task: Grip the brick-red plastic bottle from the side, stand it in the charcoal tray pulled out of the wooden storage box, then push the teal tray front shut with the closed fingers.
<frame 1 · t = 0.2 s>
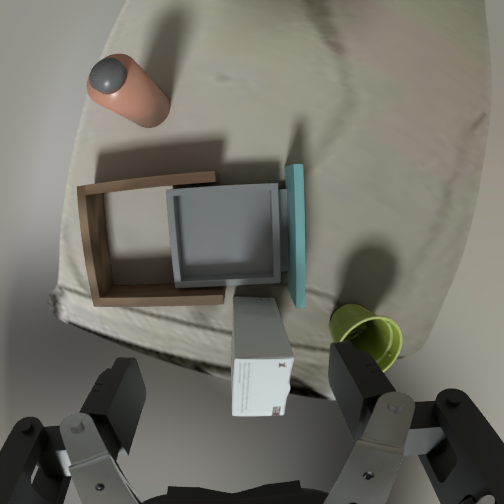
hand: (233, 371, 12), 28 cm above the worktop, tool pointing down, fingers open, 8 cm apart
bottle: (150, 109, 35), on the worktop
skincare box: (253, 323, 42), on the worktop
plant pot: (348, 321, 43), on the worktop
tray: (233, 237, 35), point 4 cm above the worktop, slide at 8.0 cm
wooden storage box: (164, 236, 39), on the worktop
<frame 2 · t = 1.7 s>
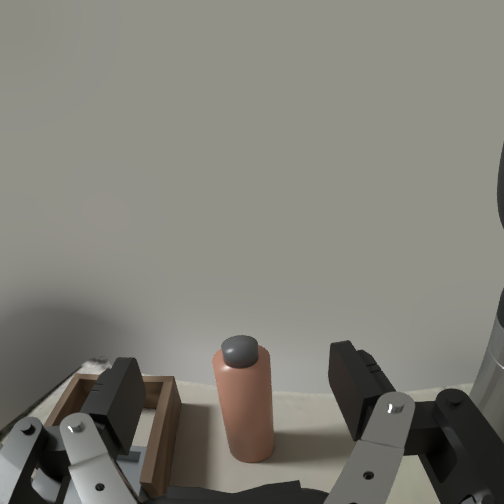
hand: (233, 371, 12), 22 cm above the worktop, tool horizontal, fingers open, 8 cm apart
bottle: (251, 446, 30), on the worktop
tray: (82, 490, 19), point 4 cm above the worktop, slide at 8.0 cm
wooden storage box: (114, 450, 28), on the worktop
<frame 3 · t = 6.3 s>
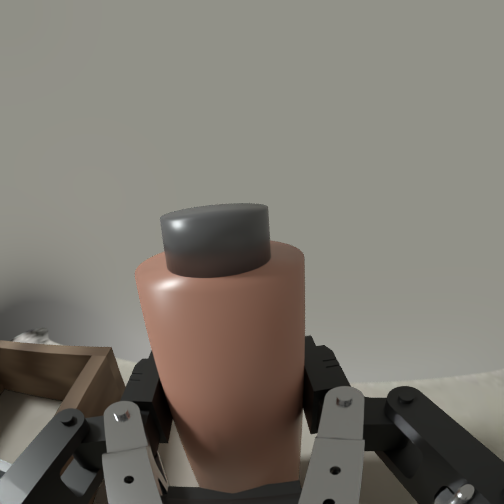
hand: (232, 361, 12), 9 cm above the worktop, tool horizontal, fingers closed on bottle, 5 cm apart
bottle: (250, 489, 13), on the worktop, touching gripper
wooden storage box: (10, 465, 11), on the worktop
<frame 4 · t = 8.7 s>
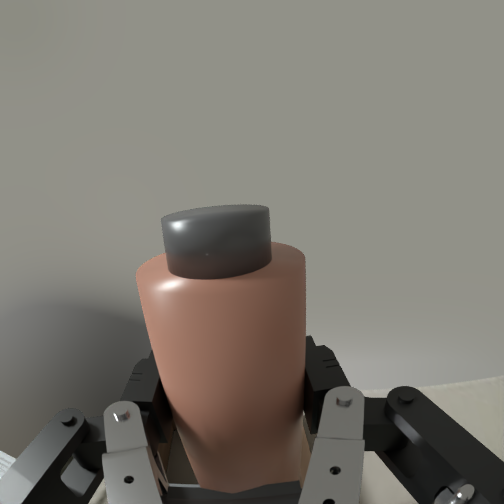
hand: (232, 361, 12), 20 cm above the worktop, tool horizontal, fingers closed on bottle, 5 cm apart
bottle: (251, 489, 13), point 12 cm above the worktop, touching gripper
wooden storage box: (228, 487, 23), on the worktop
when the fingers open (12 cm above the worktop, at t = 11.4 s): bottle drops 2 cm, resting on tray.
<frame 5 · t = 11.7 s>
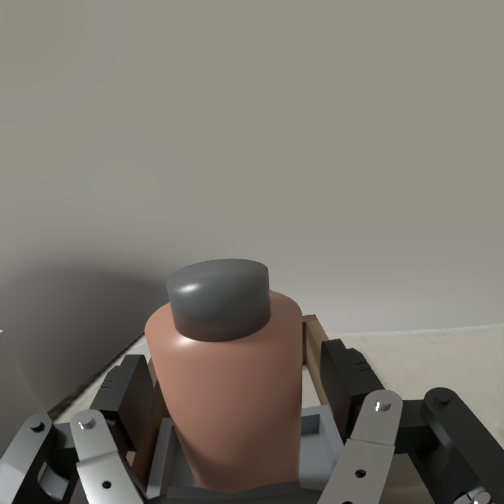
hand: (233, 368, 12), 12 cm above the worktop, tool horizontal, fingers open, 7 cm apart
tray: (251, 503, 12), point 4 cm above the worktop, slide at 8.0 cm, touching bottle
wooden storage box: (247, 429, 22), on the worktop
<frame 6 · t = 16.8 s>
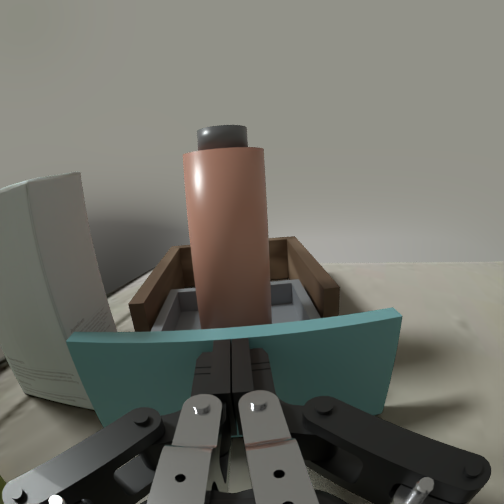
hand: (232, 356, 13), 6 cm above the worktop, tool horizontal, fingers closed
bottle: (237, 340, 22), point 1 cm above the worktop, touching tray
skincare box: (72, 384, 19), on the worktop
tray: (234, 321, 21), point 4 cm above the worktop, slide at 7.2 cm, touching bottle, gripper
wooden storage box: (237, 313, 30), on the worktop
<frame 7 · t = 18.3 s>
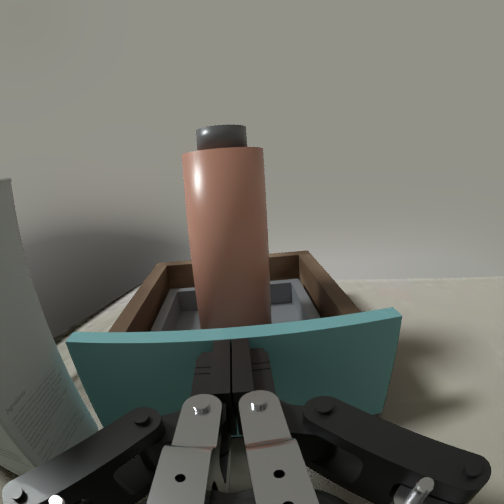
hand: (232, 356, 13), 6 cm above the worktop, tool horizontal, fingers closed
bottle: (237, 340, 22), point 1 cm above the worktop, touching tray
skincare box: (34, 449, 12), on the worktop
tray: (234, 321, 21), point 4 cm above the worktop, slide at 0.0 cm, touching bottle, gripper
wooden storage box: (238, 353, 23), on the worktop
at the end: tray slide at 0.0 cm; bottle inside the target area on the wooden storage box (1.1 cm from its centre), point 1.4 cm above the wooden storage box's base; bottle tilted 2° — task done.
